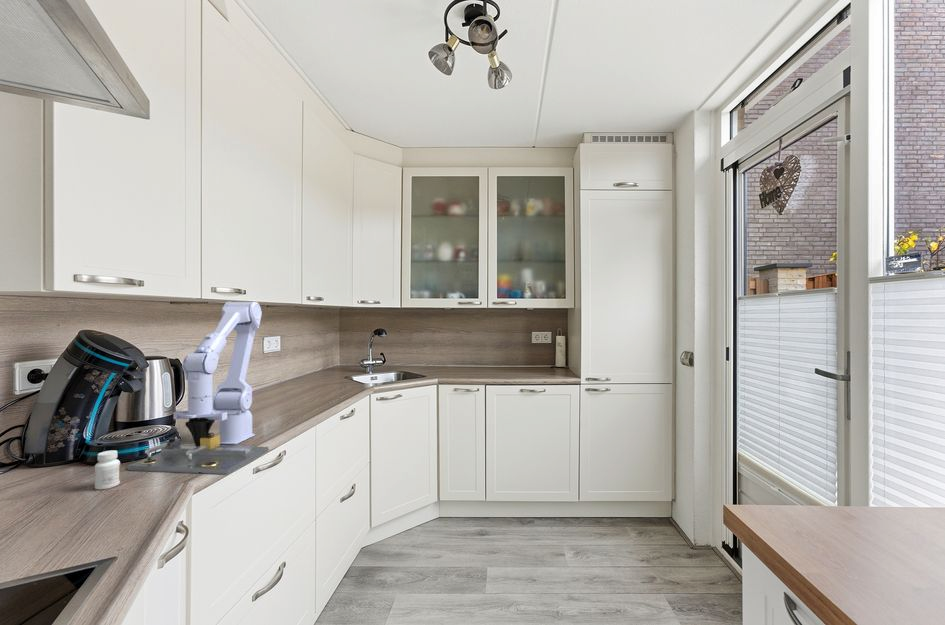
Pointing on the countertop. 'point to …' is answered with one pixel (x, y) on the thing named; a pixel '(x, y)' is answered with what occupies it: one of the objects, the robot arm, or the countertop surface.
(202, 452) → the rail
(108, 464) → the pill bottle
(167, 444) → the fixed leg
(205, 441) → the sliding leg
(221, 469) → the flange plate
